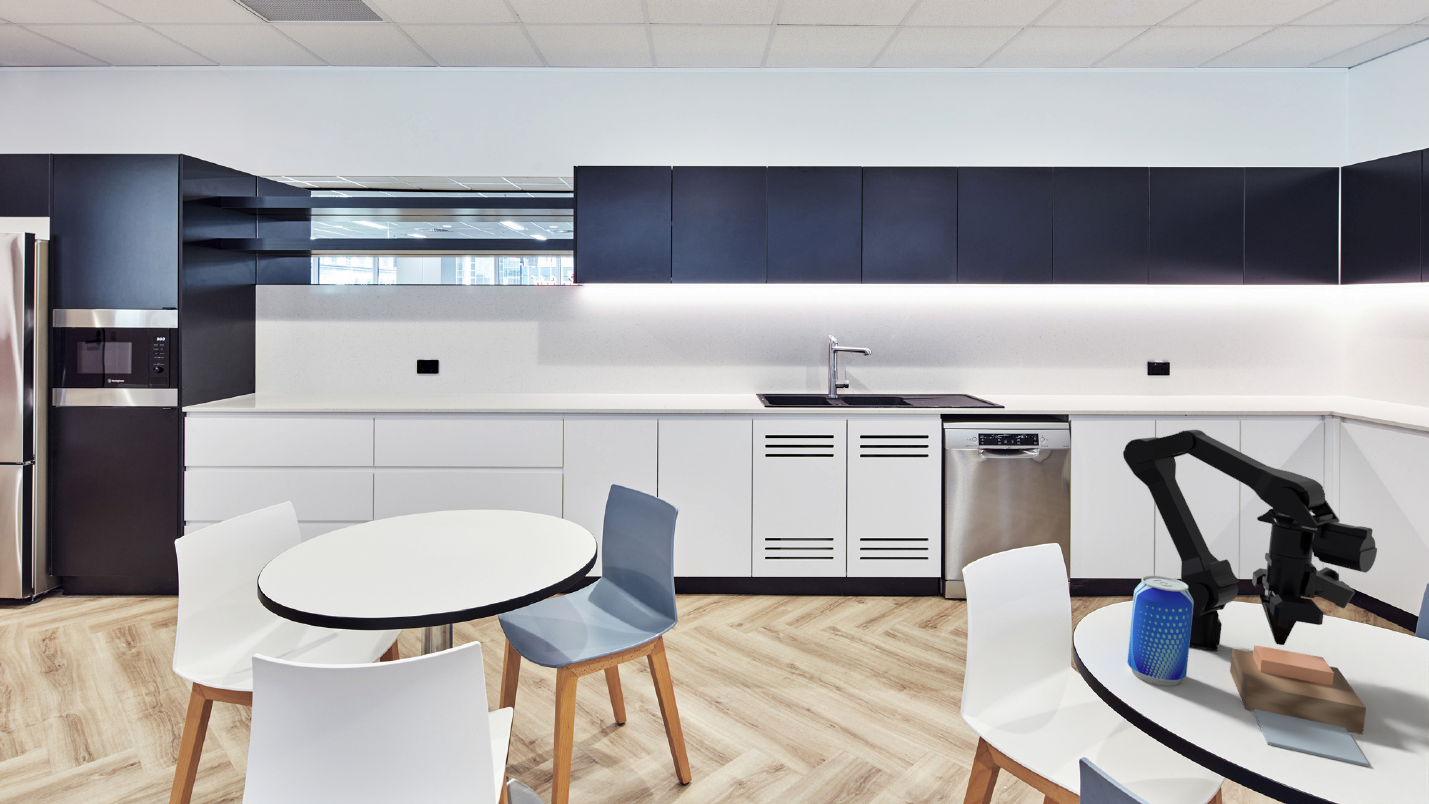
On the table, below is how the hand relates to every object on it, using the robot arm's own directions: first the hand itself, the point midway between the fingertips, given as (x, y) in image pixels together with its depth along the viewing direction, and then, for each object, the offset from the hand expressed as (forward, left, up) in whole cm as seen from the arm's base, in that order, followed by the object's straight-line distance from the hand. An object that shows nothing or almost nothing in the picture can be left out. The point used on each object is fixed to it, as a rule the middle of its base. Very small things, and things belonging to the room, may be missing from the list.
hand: (1279, 643), depth 127 cm
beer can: (-18, -12, -5) cm, 22 cm away
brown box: (0, -11, -5) cm, 12 cm away
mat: (0, -22, -5) cm, 23 cm away
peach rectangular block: (0, -9, -1) cm, 9 cm away
